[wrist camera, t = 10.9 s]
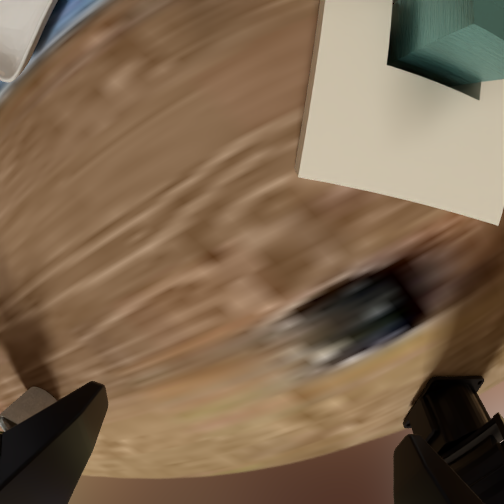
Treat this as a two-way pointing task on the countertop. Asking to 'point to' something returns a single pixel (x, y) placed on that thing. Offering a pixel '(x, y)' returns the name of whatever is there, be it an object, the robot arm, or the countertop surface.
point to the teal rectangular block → (448, 40)
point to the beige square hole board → (397, 121)
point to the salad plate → (20, 33)
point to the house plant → (25, 407)
